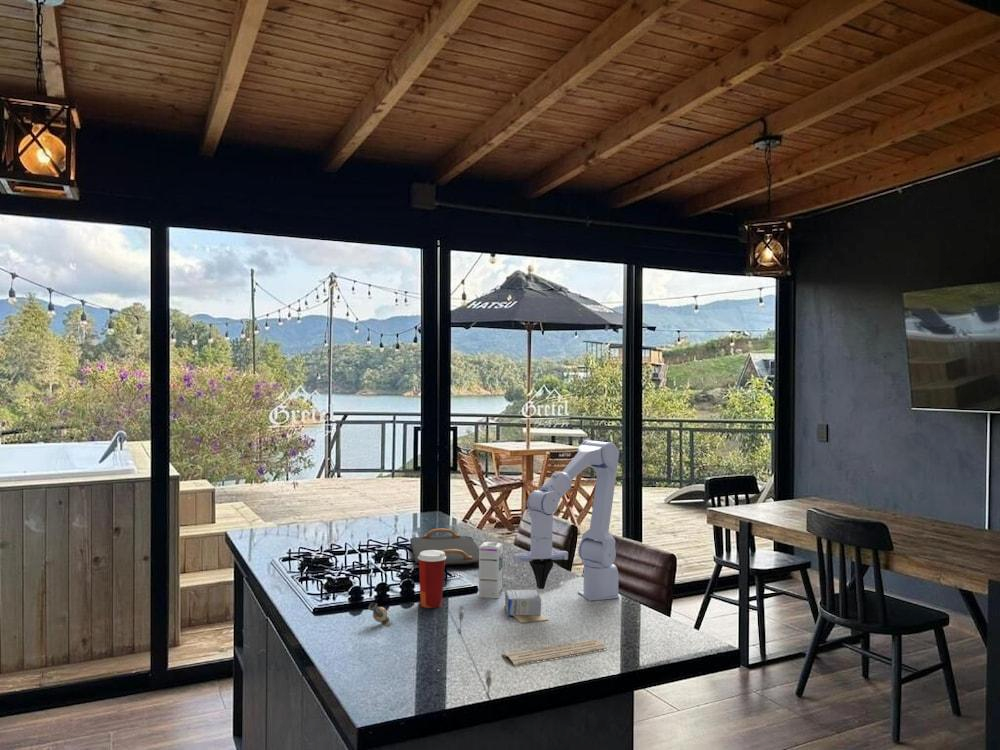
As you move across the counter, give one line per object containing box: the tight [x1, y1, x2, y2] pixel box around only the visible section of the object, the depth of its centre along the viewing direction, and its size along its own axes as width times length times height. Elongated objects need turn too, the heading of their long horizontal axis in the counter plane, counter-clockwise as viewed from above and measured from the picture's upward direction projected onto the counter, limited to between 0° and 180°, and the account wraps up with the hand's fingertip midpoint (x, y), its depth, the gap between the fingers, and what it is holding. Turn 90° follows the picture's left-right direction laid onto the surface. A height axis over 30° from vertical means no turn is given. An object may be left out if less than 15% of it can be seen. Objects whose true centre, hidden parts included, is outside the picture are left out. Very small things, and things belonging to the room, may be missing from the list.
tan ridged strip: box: [501, 638, 607, 667], centre depth 160 cm, size 24×7×2 cm, turn 115°
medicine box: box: [504, 589, 542, 616], centre depth 187 cm, size 8×4×9 cm
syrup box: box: [478, 541, 504, 600], centre depth 201 cm, size 6×6×14 cm
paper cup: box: [418, 550, 446, 609], centre depth 191 cm, size 8×8×14 cm
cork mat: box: [504, 605, 549, 624], centre depth 186 cm, size 8×13×1 cm, turn 18°
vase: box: [368, 602, 394, 628], centre depth 175 cm, size 5×5×6 cm
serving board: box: [409, 528, 479, 568], centre depth 244 cm, size 39×23×6 cm, turn 11°
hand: (540, 587), depth 187 cm, fingers closed
